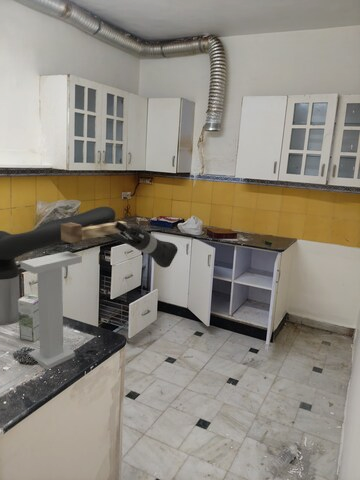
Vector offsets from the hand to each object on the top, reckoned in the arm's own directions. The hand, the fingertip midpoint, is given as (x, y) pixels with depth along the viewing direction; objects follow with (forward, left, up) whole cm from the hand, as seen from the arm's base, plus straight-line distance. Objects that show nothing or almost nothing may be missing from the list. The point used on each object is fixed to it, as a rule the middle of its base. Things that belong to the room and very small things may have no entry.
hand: (113, 223), depth 129 cm
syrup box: (-27, -4, -40) cm, 48 cm away
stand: (-18, -17, -40) cm, 47 cm away
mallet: (-5, -5, -3) cm, 8 cm away
